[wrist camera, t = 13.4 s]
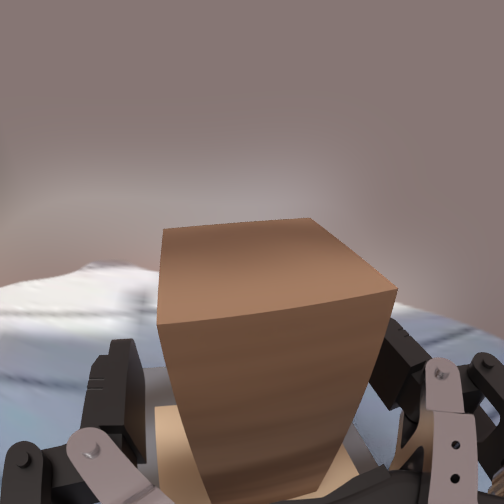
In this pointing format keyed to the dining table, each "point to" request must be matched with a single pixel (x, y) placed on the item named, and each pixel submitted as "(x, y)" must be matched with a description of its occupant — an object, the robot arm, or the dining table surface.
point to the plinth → (182, 461)
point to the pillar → (267, 350)
